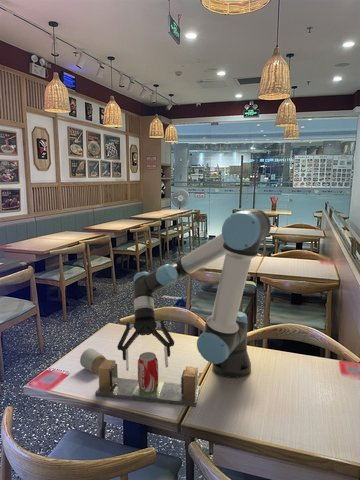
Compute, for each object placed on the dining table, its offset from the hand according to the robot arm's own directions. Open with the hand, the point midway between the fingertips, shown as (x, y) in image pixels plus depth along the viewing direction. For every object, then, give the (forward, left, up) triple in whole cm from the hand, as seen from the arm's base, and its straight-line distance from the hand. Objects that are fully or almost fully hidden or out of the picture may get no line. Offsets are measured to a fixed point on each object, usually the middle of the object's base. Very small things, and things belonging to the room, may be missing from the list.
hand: (147, 367), depth 121 cm
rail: (0, -1, -10) cm, 10 cm away
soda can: (0, -1, -8) cm, 8 cm away
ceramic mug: (+25, -14, -10) cm, 30 cm away
